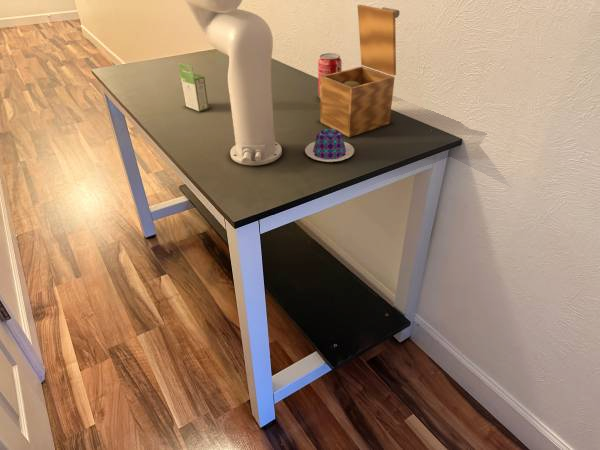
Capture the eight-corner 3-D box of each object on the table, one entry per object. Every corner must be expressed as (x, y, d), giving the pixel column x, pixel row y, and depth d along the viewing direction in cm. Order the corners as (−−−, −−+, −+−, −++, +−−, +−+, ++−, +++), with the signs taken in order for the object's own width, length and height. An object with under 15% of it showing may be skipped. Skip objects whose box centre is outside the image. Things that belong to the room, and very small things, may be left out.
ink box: (209, 108, 128) (202, 63, 120) (199, 112, 126) (191, 66, 118) (196, 103, 132) (188, 59, 124) (185, 106, 129) (177, 62, 121)
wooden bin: (349, 137, 109) (351, 88, 102) (320, 122, 118) (320, 76, 110) (389, 123, 116) (394, 77, 108) (359, 110, 124) (362, 66, 116)
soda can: (339, 102, 129) (340, 59, 122) (316, 101, 131) (316, 58, 123) (342, 95, 135) (343, 52, 127) (320, 93, 136) (320, 52, 128)
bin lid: (392, 12, 97) (411, 4, 99) (357, 5, 106) (374, -2, 108) (393, 75, 108) (410, 67, 110) (361, 64, 116) (377, 57, 118)
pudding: (351, 141, 107) (352, 122, 104) (356, 163, 97) (357, 143, 94) (304, 142, 107) (304, 123, 104) (305, 165, 98) (305, 144, 94)
